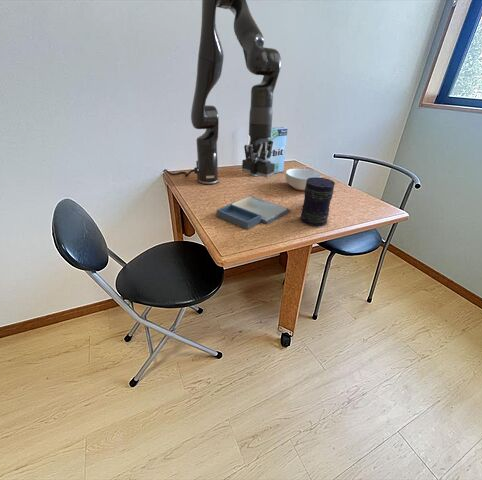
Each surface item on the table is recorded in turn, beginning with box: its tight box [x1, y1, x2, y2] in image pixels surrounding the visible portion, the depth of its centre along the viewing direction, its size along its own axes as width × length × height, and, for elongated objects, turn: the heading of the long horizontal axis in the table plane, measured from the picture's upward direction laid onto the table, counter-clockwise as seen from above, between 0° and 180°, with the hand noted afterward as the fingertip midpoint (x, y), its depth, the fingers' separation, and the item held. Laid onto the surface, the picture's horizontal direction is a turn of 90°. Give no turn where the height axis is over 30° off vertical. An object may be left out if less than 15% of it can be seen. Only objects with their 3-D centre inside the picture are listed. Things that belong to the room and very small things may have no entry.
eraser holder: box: [216, 203, 262, 230], centre depth 99 cm, size 15×8×3 cm, turn 52°
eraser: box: [241, 157, 275, 179], centre depth 97 cm, size 11×5×5 cm, turn 53°
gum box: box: [249, 126, 289, 177], centre depth 143 cm, size 20×5×23 cm, turn 123°
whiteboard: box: [225, 195, 290, 225], centre depth 107 cm, size 20×15×1 cm
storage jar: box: [300, 177, 336, 228], centre depth 98 cm, size 10×10×15 cm
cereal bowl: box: [285, 168, 322, 191], centre depth 130 cm, size 17×17×7 cm
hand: (257, 172), depth 98 cm, fingers closed on eraser, 4 cm apart
